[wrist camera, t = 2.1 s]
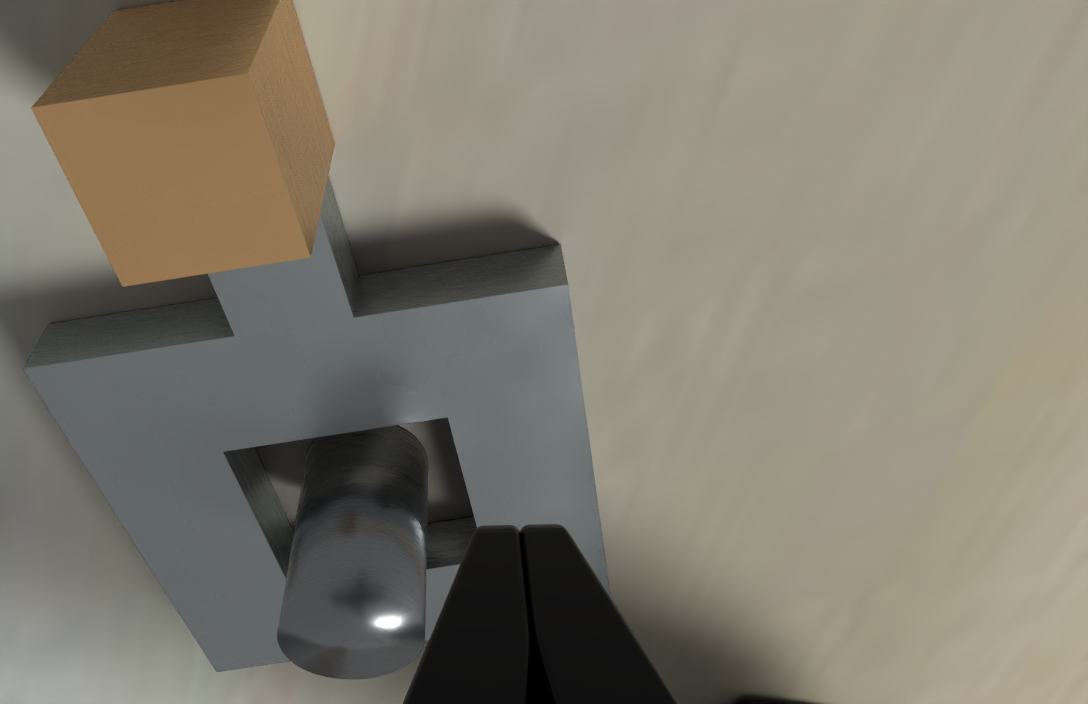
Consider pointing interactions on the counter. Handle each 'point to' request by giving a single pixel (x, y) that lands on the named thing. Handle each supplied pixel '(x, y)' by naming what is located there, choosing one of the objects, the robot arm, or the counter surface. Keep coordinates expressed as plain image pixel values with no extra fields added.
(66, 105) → the flange plate
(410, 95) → the counter surface
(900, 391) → the counter surface
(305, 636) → the post
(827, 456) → the counter surface
